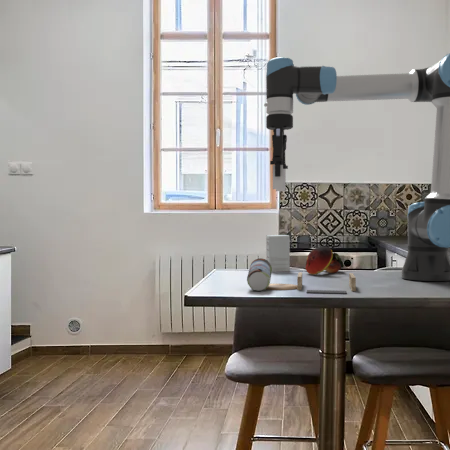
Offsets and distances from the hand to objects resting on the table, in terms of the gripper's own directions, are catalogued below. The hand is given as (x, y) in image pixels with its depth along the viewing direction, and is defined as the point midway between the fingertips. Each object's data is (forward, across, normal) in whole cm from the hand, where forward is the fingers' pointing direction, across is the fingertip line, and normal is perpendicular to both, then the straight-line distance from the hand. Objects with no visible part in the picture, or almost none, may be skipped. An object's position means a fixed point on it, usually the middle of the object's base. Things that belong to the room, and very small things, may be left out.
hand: (279, 190), depth 166 cm
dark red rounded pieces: (+28, -36, +19) cm, 50 cm away
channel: (+27, +5, +13) cm, 30 cm away
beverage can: (+22, +5, -4) cm, 23 cm away
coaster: (+27, +6, 0) cm, 27 cm away
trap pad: (+27, +15, +13) cm, 33 cm away
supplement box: (+27, -40, -3) cm, 48 cm away
